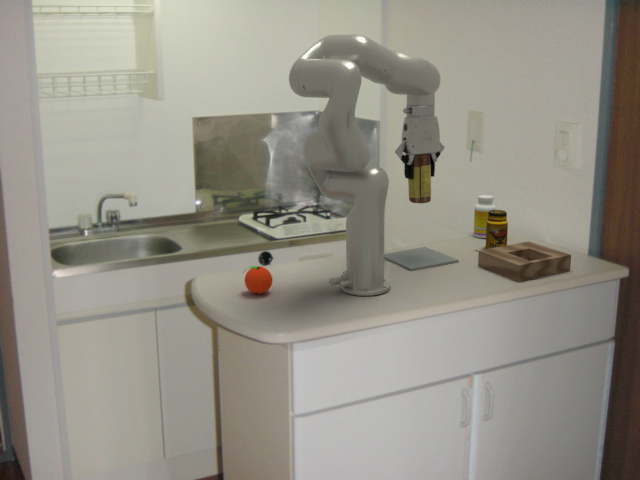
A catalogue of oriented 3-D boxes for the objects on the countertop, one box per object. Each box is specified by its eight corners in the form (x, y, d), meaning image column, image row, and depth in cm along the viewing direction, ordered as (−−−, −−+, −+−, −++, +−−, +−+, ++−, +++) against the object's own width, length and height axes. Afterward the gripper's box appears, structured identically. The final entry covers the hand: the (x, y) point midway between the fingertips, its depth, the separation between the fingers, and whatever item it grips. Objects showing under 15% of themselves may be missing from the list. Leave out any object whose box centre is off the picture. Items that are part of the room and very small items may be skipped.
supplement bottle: (495, 239, 232) (497, 198, 229) (473, 238, 233) (474, 198, 230) (494, 234, 239) (496, 194, 235) (473, 233, 240) (474, 194, 236)
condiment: (498, 256, 215) (500, 215, 212) (474, 250, 221) (475, 210, 218) (513, 250, 220) (515, 211, 217) (488, 245, 226) (490, 206, 223)
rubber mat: (411, 271, 203) (411, 268, 203) (379, 256, 217) (379, 254, 216) (458, 262, 210) (458, 260, 210) (425, 248, 224) (425, 246, 224)
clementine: (236, 295, 187) (235, 268, 185) (250, 287, 193) (248, 260, 191) (264, 299, 183) (263, 271, 182) (277, 290, 190) (276, 263, 188)
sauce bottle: (430, 199, 212) (432, 128, 206) (431, 204, 206) (433, 131, 200) (407, 199, 212) (408, 128, 207) (407, 204, 206) (408, 131, 201)
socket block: (518, 282, 192) (519, 265, 191) (478, 266, 206) (478, 250, 204) (570, 271, 200) (571, 254, 199) (528, 256, 214) (528, 241, 212)
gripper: (401, 114, 195) (400, 182, 200) (454, 110, 203) (453, 176, 208) (385, 112, 202) (385, 178, 206) (438, 108, 209) (437, 172, 214)
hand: (419, 176), depth 207 cm, fingers closed on sauce bottle, 6 cm apart
